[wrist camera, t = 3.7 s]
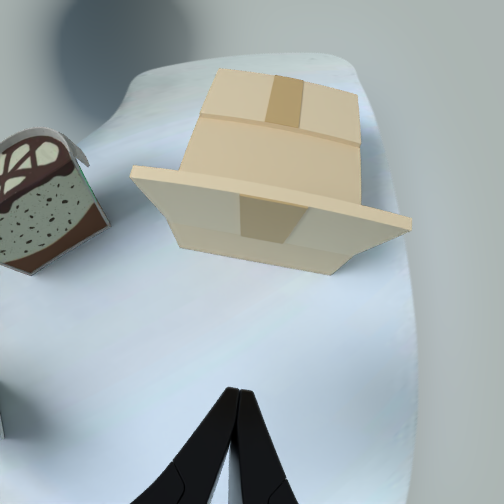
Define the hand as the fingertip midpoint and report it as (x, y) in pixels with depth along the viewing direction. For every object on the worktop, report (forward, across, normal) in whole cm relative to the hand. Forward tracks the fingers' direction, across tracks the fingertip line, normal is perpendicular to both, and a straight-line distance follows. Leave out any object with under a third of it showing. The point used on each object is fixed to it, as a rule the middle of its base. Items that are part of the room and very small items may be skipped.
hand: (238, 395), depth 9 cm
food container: (+15, +18, +3) cm, 23 cm away
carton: (+20, 0, -2) cm, 20 cm away
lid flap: (+7, 0, -4) cm, 8 cm away
